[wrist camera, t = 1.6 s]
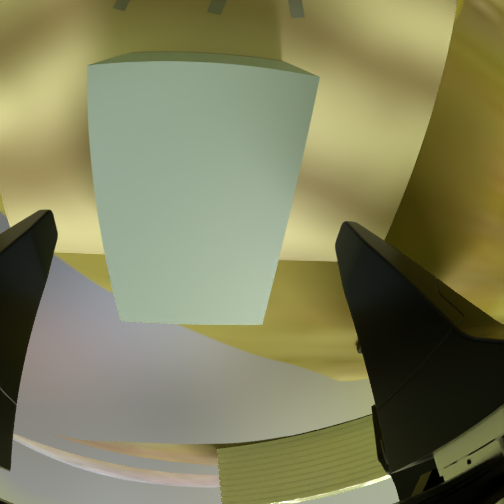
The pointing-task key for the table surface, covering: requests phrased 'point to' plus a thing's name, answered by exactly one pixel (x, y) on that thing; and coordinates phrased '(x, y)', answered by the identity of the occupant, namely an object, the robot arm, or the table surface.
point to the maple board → (238, 43)
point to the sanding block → (195, 179)
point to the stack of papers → (301, 465)
